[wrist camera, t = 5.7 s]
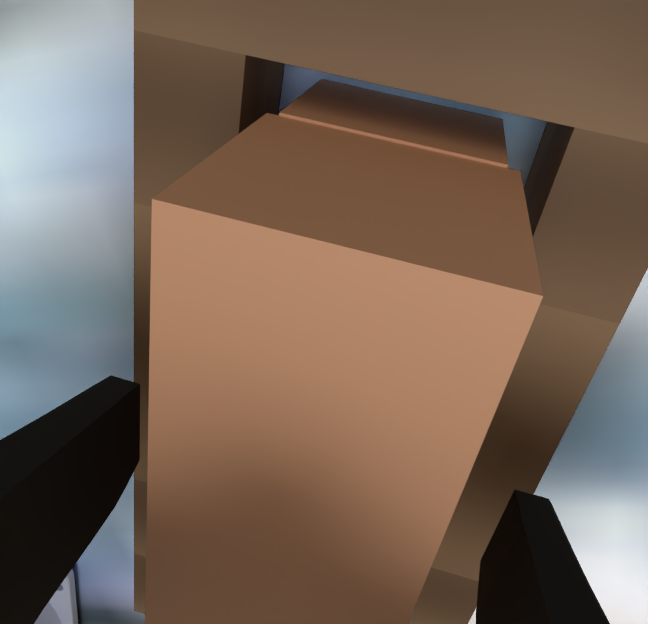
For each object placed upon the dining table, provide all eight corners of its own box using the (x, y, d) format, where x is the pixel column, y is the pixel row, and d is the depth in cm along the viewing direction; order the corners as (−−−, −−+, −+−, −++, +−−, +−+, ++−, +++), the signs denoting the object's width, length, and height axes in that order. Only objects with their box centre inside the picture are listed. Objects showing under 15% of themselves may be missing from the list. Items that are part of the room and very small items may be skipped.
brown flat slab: (432, 624, 20) (426, 704, 18) (169, 543, 21) (134, 610, 19) (741, -57, 10) (813, -60, 8) (203, -158, 11) (134, -185, 8)
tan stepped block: (379, 530, 18) (330, 808, 12) (250, 492, 19) (142, 744, 13) (512, 121, 12) (544, 292, 6) (311, 76, 12) (151, 194, 6)
